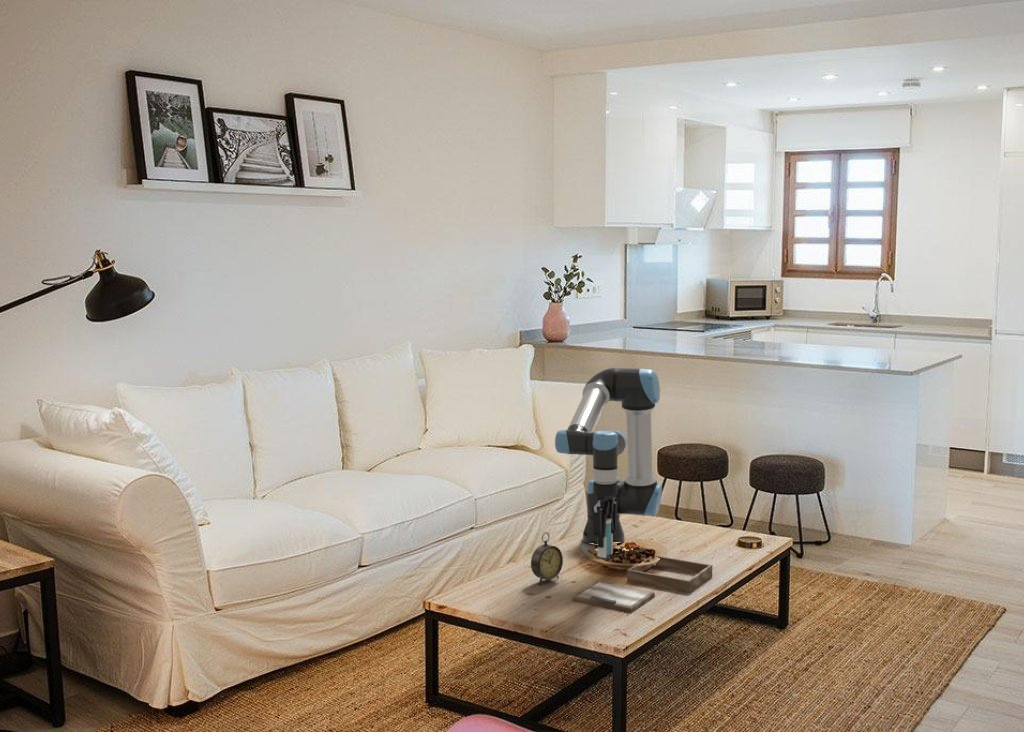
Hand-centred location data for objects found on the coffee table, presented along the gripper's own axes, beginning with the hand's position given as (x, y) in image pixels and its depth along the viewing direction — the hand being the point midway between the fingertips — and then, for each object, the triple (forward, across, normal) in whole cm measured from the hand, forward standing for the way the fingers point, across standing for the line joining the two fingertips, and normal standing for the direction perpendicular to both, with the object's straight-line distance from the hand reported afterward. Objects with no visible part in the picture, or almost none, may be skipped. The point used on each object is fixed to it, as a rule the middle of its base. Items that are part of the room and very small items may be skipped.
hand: (605, 555), depth 323 cm
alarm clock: (+12, +1, -21) cm, 24 cm away
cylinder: (+1, 0, 0) cm, 1 cm away
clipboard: (+12, +4, +5) cm, 13 cm away
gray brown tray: (+12, -22, +12) cm, 28 cm away
